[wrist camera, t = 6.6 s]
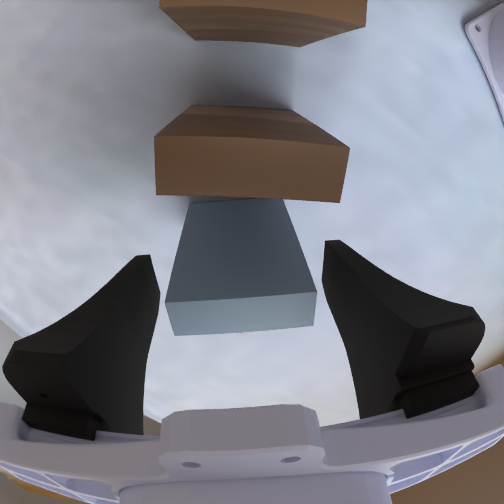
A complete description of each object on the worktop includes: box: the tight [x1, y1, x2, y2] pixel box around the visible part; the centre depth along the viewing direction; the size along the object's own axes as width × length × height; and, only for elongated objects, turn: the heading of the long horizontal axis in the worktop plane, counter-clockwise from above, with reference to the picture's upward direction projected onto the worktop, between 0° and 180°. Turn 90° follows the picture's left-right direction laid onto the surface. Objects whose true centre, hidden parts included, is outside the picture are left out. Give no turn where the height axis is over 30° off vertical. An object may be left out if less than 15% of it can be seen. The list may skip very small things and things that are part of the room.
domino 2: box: [154, 106, 350, 203], centre depth 11 cm, size 2×5×8 cm, turn 86°
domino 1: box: [159, 0, 367, 47], centre depth 9 cm, size 2×5×8 cm, turn 86°
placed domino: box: [165, 198, 317, 336], centre depth 14 cm, size 2×5×8 cm, turn 93°
